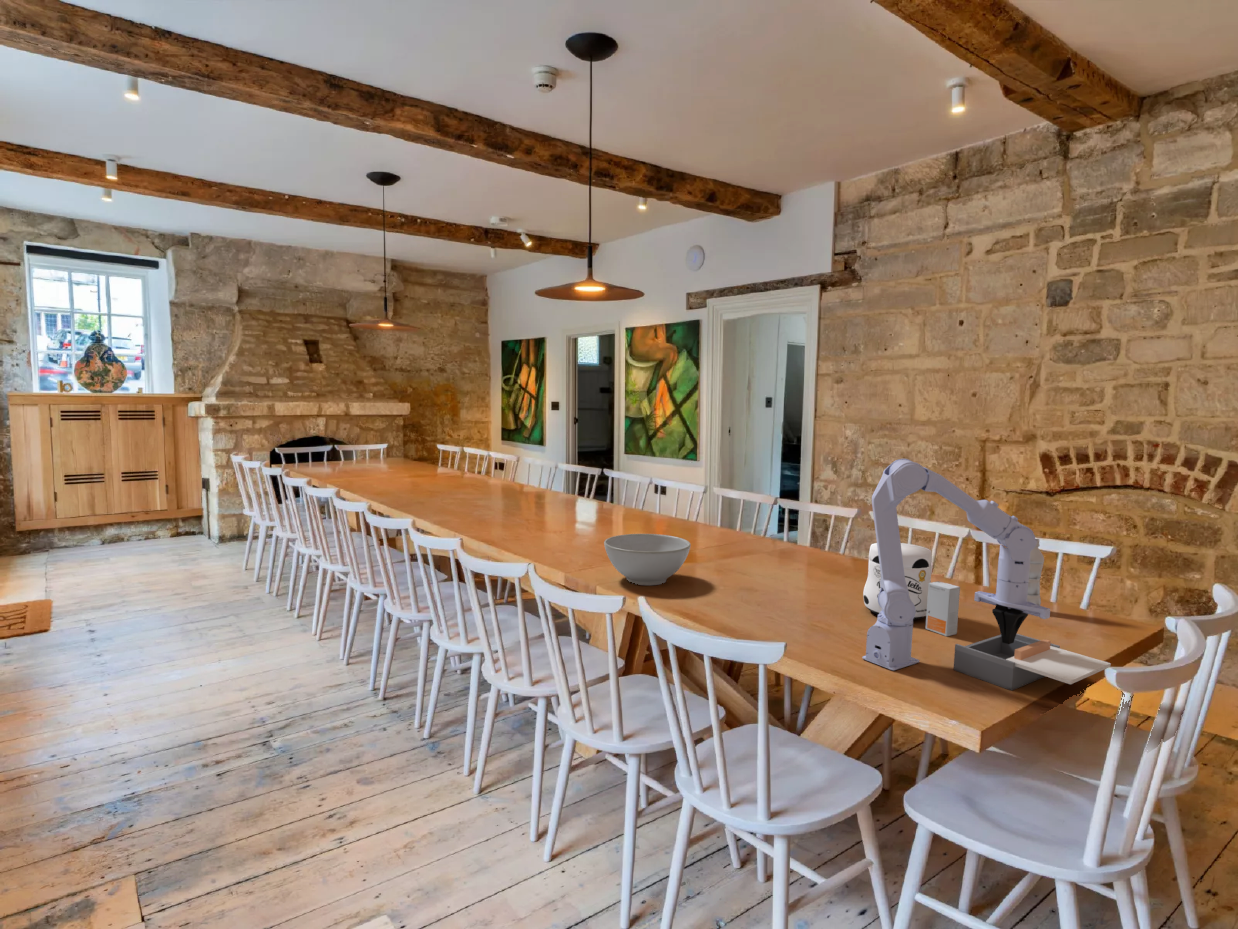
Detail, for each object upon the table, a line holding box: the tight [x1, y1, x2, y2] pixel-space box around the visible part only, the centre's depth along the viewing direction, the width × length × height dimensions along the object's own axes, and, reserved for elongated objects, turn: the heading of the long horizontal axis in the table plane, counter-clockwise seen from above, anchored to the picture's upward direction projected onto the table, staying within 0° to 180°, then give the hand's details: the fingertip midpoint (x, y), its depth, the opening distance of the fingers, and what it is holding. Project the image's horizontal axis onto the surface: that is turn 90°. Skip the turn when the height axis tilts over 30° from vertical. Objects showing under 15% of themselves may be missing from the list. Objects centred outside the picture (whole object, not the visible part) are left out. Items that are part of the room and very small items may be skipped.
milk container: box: [862, 542, 933, 621], centre depth 181 cm, size 17×17×18 cm
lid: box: [1006, 638, 1112, 685], centre depth 136 cm, size 17×12×2 cm
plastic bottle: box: [1027, 537, 1045, 606], centre depth 187 cm, size 6×7×20 cm
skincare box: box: [925, 580, 961, 637], centre depth 168 cm, size 6×4×12 cm
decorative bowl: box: [603, 533, 691, 586], centre depth 211 cm, size 27×27×12 cm
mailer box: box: [953, 633, 1061, 692], centre depth 144 cm, size 19×12×6 cm, turn 123°
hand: (1007, 642), depth 144 cm, fingers closed
